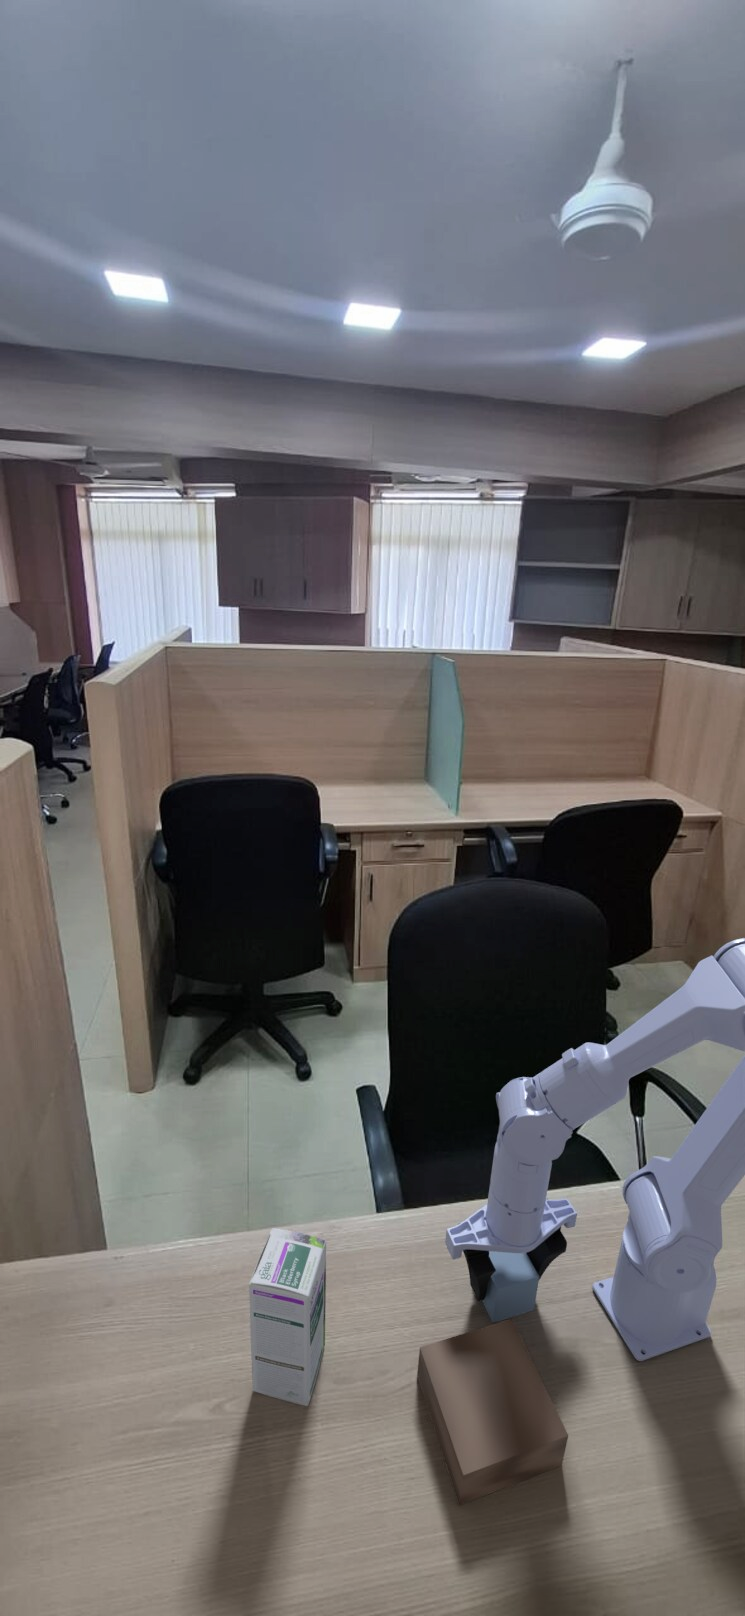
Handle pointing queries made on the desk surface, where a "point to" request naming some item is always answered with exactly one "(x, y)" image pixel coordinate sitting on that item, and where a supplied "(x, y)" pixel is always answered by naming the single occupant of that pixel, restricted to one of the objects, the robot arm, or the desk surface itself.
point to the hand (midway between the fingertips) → (503, 1284)
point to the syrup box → (288, 1315)
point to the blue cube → (511, 1286)
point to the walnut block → (489, 1410)
